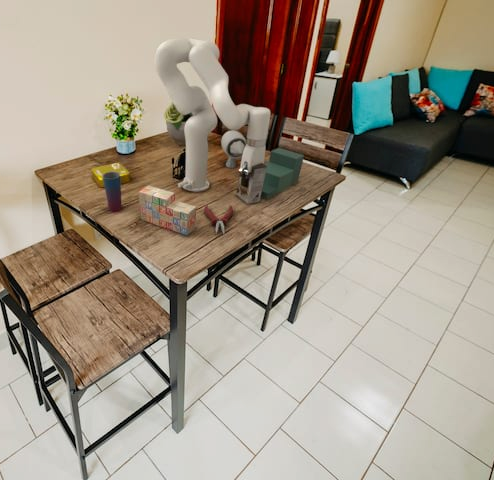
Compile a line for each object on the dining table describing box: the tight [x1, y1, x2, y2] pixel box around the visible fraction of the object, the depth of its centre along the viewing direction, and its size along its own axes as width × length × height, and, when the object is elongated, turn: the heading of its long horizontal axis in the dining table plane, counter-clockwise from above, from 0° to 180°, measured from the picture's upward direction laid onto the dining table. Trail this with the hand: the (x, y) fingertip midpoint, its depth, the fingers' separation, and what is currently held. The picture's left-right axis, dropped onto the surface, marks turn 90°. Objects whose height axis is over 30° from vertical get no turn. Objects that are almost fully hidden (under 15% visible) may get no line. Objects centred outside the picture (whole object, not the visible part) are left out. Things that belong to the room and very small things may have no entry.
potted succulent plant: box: [163, 101, 193, 146], centre depth 193 cm, size 25×25×24 cm
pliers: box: [203, 204, 234, 236], centre depth 128 cm, size 12×20×3 cm, turn 175°
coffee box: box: [236, 163, 267, 205], centre depth 139 cm, size 9×6×16 cm
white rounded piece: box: [220, 130, 247, 169], centre depth 165 cm, size 15×20×18 cm
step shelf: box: [260, 147, 305, 201], centre depth 150 cm, size 25×13×13 cm, turn 132°
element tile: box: [91, 162, 131, 188], centre depth 160 cm, size 15×15×5 cm
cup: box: [103, 171, 123, 213], centre depth 134 cm, size 7×7×15 cm
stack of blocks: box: [138, 185, 197, 236], centre depth 125 cm, size 21×6×12 cm, turn 56°
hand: (250, 183), depth 140 cm, fingers closed on coffee box, 7 cm apart
